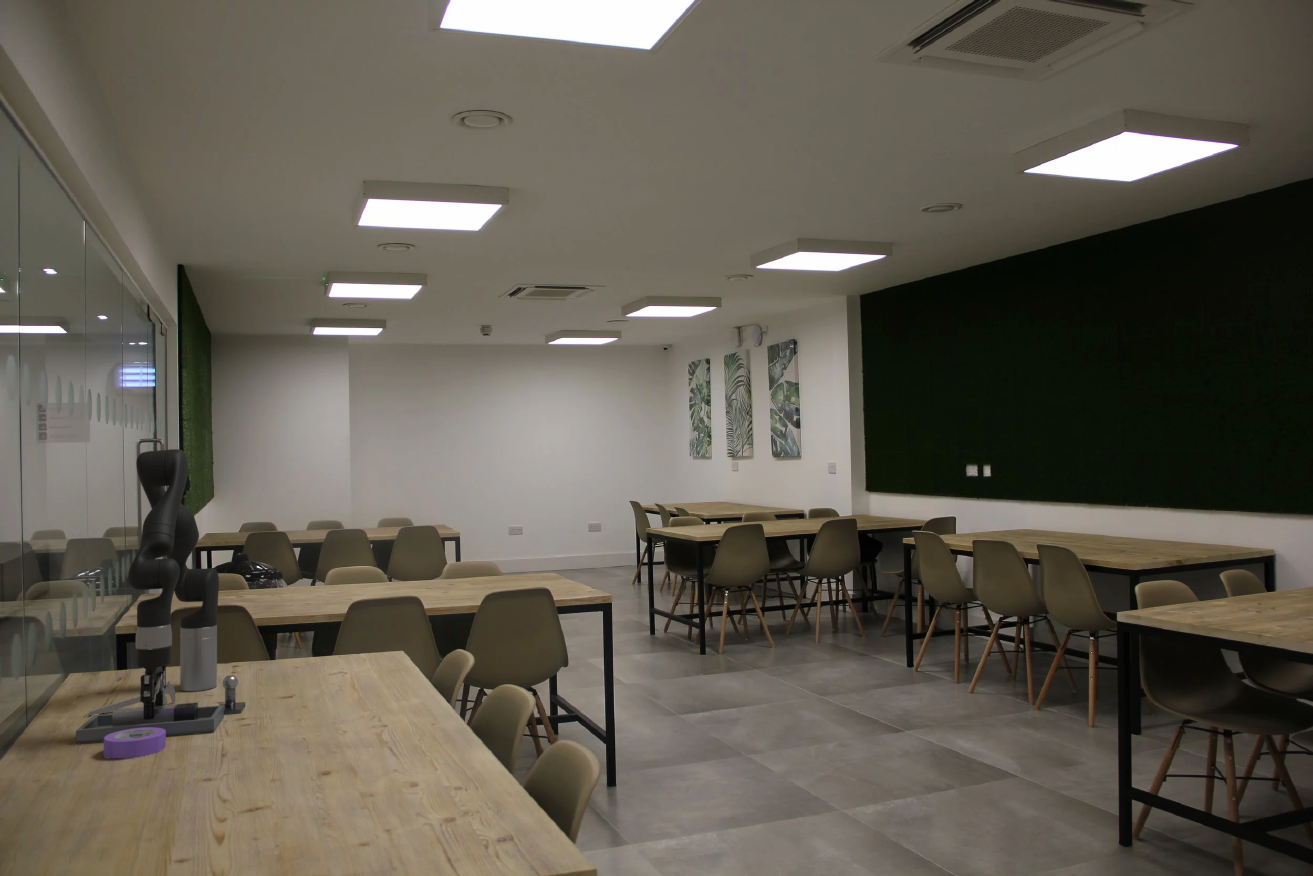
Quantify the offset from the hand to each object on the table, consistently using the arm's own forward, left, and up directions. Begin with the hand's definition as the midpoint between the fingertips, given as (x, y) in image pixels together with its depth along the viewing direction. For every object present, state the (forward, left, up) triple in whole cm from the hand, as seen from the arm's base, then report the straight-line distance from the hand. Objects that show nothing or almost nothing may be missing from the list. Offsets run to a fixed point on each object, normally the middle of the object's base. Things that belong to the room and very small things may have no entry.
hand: (153, 714), depth 217 cm
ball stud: (-14, +14, -4) cm, 20 cm away
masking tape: (+17, 0, -4) cm, 17 cm away
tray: (0, 0, -4) cm, 4 cm away
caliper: (-24, -10, -4) cm, 26 cm away
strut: (0, 0, -3) cm, 3 cm away
